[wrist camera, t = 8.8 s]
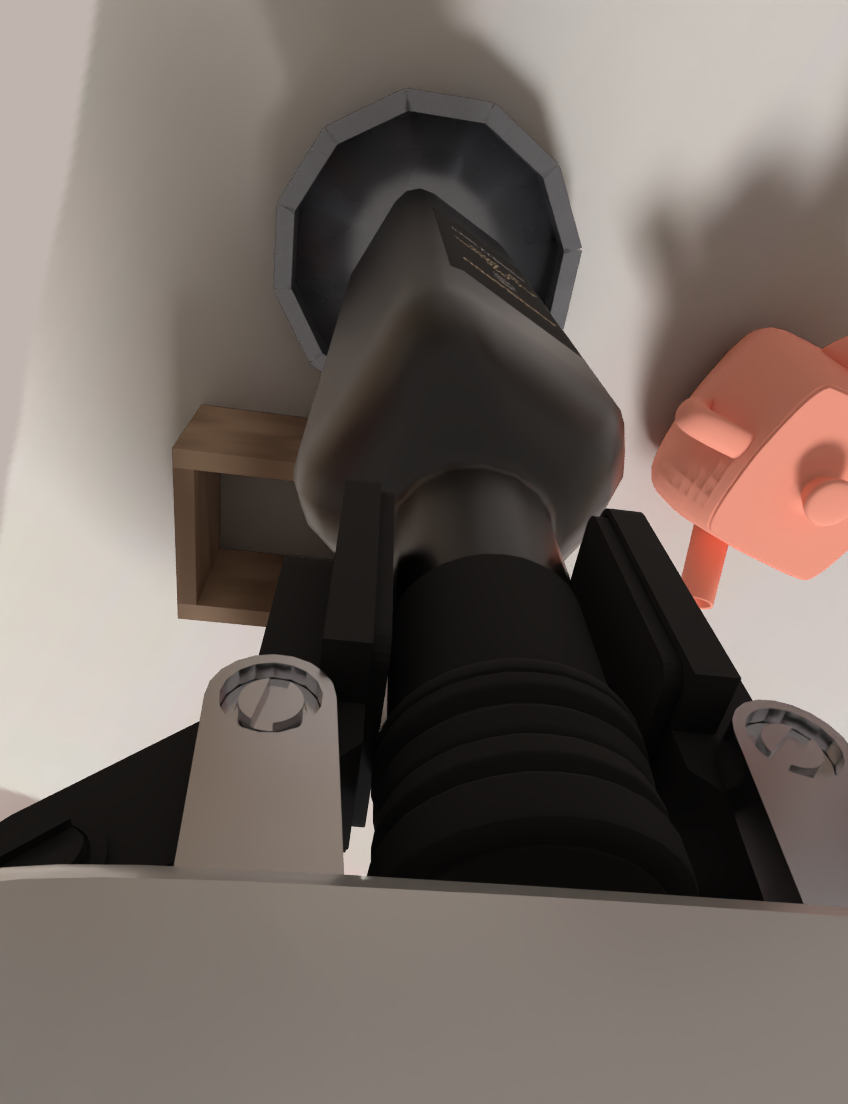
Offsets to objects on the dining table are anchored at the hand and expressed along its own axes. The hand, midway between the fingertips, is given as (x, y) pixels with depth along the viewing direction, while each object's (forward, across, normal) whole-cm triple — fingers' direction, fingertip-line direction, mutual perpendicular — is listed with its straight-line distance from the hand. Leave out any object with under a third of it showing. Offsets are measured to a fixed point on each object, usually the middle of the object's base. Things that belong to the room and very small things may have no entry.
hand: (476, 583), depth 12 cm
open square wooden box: (+29, +6, +14) cm, 33 cm away
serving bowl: (+29, 0, 0) cm, 29 cm away
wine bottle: (+24, 0, 0) cm, 24 cm away
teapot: (+30, -19, +6) cm, 36 cm away
